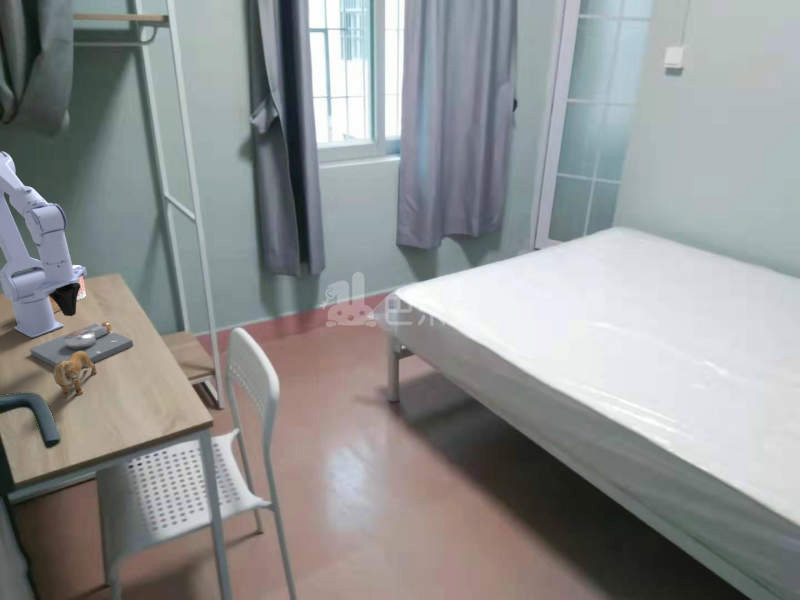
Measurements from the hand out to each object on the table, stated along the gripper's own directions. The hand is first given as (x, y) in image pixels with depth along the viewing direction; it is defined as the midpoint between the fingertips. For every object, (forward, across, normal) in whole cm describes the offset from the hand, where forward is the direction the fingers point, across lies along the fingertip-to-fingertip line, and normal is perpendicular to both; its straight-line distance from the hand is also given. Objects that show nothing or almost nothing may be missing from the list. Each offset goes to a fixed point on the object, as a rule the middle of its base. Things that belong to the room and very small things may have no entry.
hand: (69, 314), depth 133 cm
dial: (+8, +2, -2) cm, 8 cm away
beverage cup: (+10, +28, +21) cm, 36 cm away
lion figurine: (+9, -15, -11) cm, 21 cm away
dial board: (+9, 0, -1) cm, 9 cm away
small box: (+10, +20, +23) cm, 32 cm away
